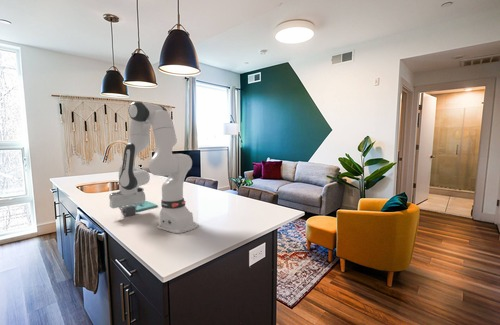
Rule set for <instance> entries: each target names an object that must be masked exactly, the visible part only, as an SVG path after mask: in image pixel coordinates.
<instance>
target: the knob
mask: <svg viewBox="0 0 500 325" xmlns="http://www.w3.org/2000/svg"><path fill="white" fill-rule="evenodd" d="M121 209H122V210H125V213H123V214H122V213H121V215H122V216H124V217H131V216H135V215H136V212H135V206H133V205H129V206H128V205H127V206H122V208H121Z"/></svg>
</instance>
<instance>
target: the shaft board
mask: <svg viewBox="0 0 500 325" xmlns="http://www.w3.org/2000/svg"><path fill="white" fill-rule="evenodd" d="M132 205H133V206H135V205H134V204H132ZM128 206H129V205H128ZM157 207H159V205H158V204H156V203H154V202H151V201H148V200H145V202H141V203H138V206H137V208H136V211H135V213H136V212H141V211H145V210H149V209H154V208H157Z"/></svg>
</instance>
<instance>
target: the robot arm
mask: <svg viewBox="0 0 500 325" xmlns="http://www.w3.org/2000/svg"><path fill="white" fill-rule="evenodd" d="M128 115H129V118H130V121H129V127H128V140H127V144H126V145H125V147H124V151H123V158H122V164H121V165H120V166H119V168H118V182H119V185H118V188H119V191H114V192H111V193H110V194H109V196H108V198H109V199H108V200H109V207H110V208H111V209H117V208H118V209H119V210H120V214H121V215H122V214H123V213H125V210H122V207H124V206H127V205H132V204H134V205H135V211H136V208H137V206H138V203H141V202H145V201H147V199H146V194H145V192H144V190H145V188H144V187H142V186H144V185H146V184H148V183H149V182H150V180H151V179H150V174H152V175H153V176H156V177H157V176H159V177H165V176H167V179H166V180H165V181H164V182H163V183H162V185H161V200H160V201H161V202H160V203H161V204H160V205H161V209H160V211H159V218H158V220H159V221H158V222H159V224H158V225H157V226H156V227H157V229H158V230H159V229H160V230H162V231H166V232H169V233H173V234H182V233H186V232H189V231H192V230H194V229H196V228H198V226H199V224H198V223H197V222H196V221H194V217H193V216H194V215H193V212H192V211H191V212H190V210H189V208H188V207H187V206H186V202H187V201H185V199H184V182H185V178H186V177H187V174H188V172H189V171H191V169H192V166H193V160H192V158H191V156H190V155H188V154H184V153H173V147H175V145H177V142H178V138H177V134H176V131H175V126H174V123H173V120H172V118H171V115H170V113H169V112H168V110H167V108H166V107H164V106H162V105H159V104H154V103H152V102H142V101H133V102H132V103H130V105H129V107H128ZM151 126H152V132H153V136H154V142H155V148H154V149H155V150H154V153H153V156H151V158H150V159H149V161H148V165H147V166H148V170H149V172H150V174H149V172H148V171H147V170H146V169H141V168H139V167H137V166H135V164H136V158H137V156H138V155H139V153H141V152H143V151H144V150H145V149H147V148H148V146H149V145H150V141H151V138H150V137H151V135H150V134H151V133H150V132H151V131H150V128H151Z"/></svg>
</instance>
